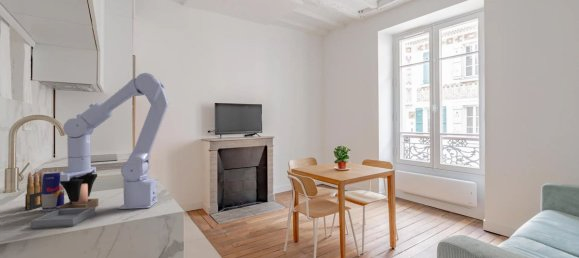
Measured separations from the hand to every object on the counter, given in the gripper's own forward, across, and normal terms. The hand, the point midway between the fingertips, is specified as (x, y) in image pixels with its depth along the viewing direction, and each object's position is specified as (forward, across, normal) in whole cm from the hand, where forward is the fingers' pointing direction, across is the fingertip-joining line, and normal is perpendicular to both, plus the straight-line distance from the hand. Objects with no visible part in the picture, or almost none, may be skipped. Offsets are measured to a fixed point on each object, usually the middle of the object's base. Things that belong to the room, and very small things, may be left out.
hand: (80, 199), depth 85 cm
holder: (+3, 0, 0) cm, 3 cm away
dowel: (+3, 0, 0) cm, 3 cm away
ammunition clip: (+4, -7, -15) cm, 17 cm away
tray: (+3, +10, +2) cm, 11 cm away
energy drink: (+4, -2, -9) cm, 10 cm away
